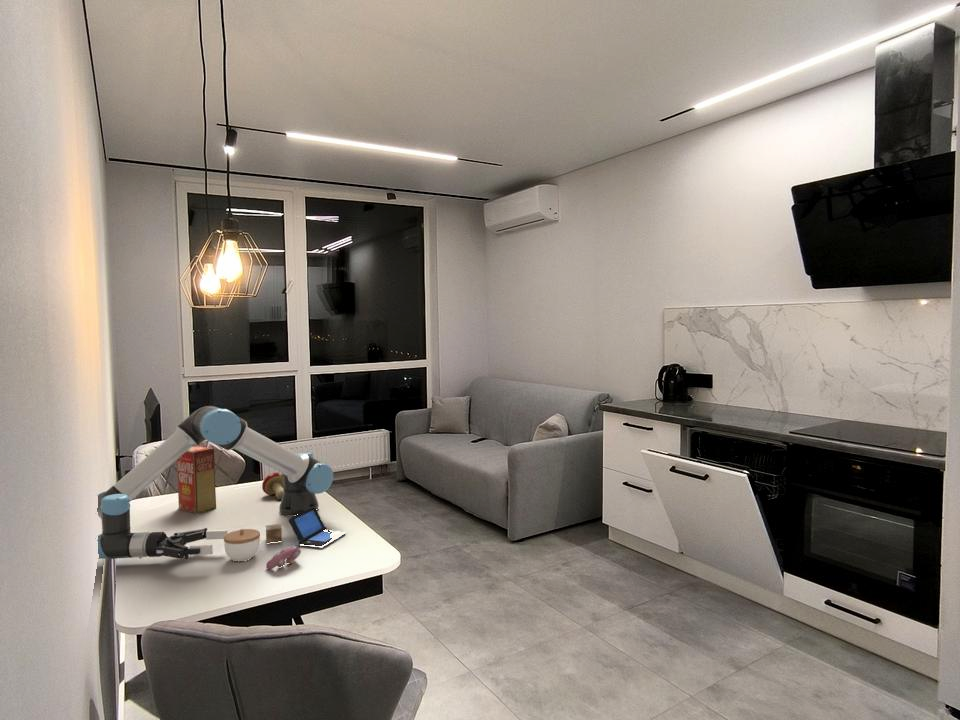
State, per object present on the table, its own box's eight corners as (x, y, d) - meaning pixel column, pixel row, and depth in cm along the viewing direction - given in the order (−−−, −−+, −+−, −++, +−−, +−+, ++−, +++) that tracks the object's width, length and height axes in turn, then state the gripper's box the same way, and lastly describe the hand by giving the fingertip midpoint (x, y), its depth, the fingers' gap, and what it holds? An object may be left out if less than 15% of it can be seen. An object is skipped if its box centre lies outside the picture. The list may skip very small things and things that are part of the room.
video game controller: (272, 577, 176) (279, 558, 174) (263, 567, 178) (270, 549, 176) (298, 565, 184) (305, 548, 182) (289, 556, 186) (296, 539, 184)
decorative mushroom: (288, 481, 250) (276, 463, 261) (265, 497, 246) (254, 478, 257) (300, 496, 257) (288, 478, 268) (277, 512, 253) (266, 494, 264)
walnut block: (281, 537, 205) (281, 523, 205) (281, 542, 201) (281, 528, 200) (266, 539, 204) (265, 525, 203) (266, 544, 199) (266, 530, 199)
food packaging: (176, 509, 240) (174, 448, 239) (198, 503, 248) (196, 444, 247) (196, 514, 233) (194, 451, 232) (217, 507, 241) (215, 447, 240)
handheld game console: (322, 550, 194) (321, 522, 193) (287, 546, 198) (287, 519, 197) (346, 534, 209) (346, 509, 208) (314, 531, 213) (313, 505, 212)
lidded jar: (266, 557, 187) (265, 528, 186) (233, 568, 179) (232, 537, 178) (251, 549, 194) (250, 521, 194) (218, 559, 186) (217, 529, 186)
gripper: (167, 542, 196) (233, 539, 198) (130, 572, 171) (205, 569, 173) (166, 520, 196) (232, 517, 197) (129, 547, 171) (204, 544, 173)
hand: (220, 541), depth 185 cm, fingers open, 13 cm apart
